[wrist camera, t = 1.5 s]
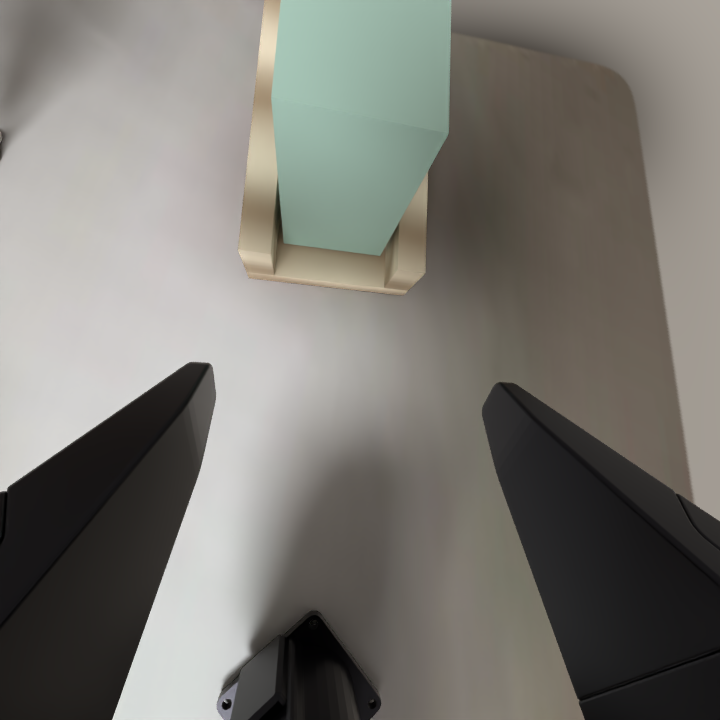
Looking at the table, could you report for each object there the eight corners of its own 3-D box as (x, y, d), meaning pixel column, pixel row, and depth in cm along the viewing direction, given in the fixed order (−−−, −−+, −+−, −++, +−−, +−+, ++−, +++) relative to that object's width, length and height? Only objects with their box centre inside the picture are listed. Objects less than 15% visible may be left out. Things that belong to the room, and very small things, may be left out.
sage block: (380, 255, 21) (449, 133, 12) (283, 243, 20) (271, 97, 11) (384, 169, 22) (451, -12, 13) (291, 153, 21) (286, -59, 11)
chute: (403, 295, 23) (425, 273, 19) (248, 278, 21) (237, 249, 17) (411, 74, 25) (432, 13, 21) (272, 42, 23) (267, -31, 19)
